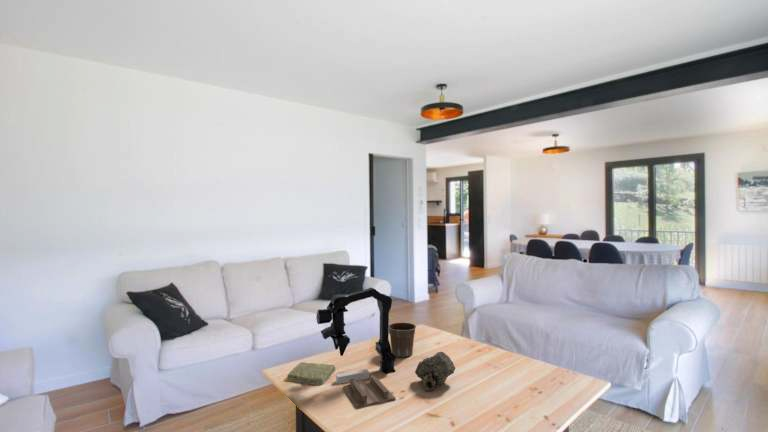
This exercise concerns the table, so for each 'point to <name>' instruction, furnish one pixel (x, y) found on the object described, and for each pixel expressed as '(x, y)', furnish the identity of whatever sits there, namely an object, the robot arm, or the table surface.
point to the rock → (435, 370)
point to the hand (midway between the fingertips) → (338, 352)
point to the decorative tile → (311, 373)
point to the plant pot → (402, 338)
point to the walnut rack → (368, 392)
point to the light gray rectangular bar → (352, 376)
